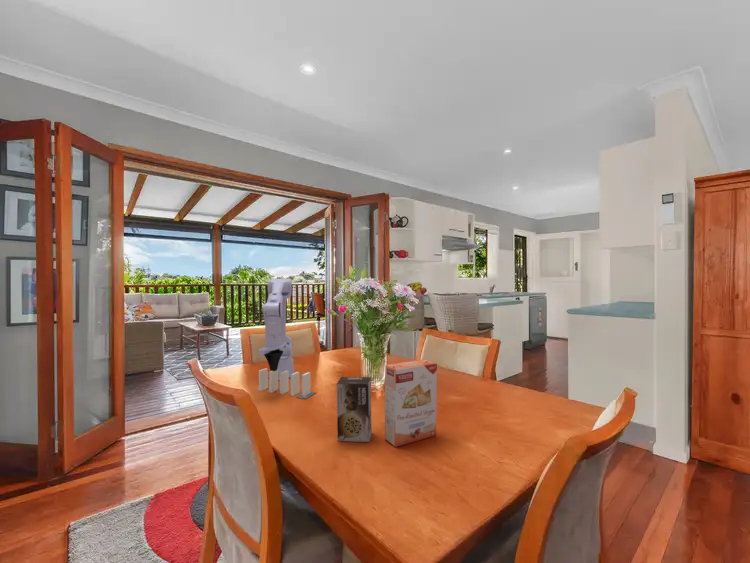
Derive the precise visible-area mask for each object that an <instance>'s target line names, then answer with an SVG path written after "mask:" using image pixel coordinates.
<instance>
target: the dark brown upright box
mask: <svg viewBox="0 0 750 563" xmlns="http://www.w3.org/2000/svg"><path fill="white" fill-rule="evenodd" d="M371 378H372V377H371V376H368V377H367V376H341V377H339V379H338V381H337V383H336V384H335V385H336V418H337V419H336V420H337V421H336V422H337V423H336V425H337V426H336V428H337V430H336V432H337V436H336V438H337V440H336V441H337V442H355V443H357V442H358V443H360V442H361V443H363V442H364V443H370V442H371V437H372V434H373V432H372V431H373V430H372V429H373V428H372V427H373V426H372V382H371V381H372V379H371Z"/></svg>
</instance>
